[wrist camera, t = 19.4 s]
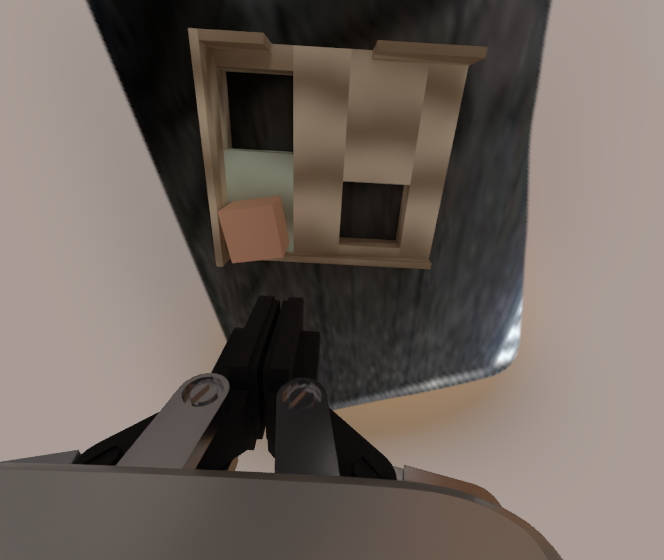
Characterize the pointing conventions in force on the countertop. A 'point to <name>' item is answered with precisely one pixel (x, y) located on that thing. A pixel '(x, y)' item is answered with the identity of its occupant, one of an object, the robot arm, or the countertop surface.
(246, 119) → the countertop surface
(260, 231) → the block
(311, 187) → the wooden cubby shelf
